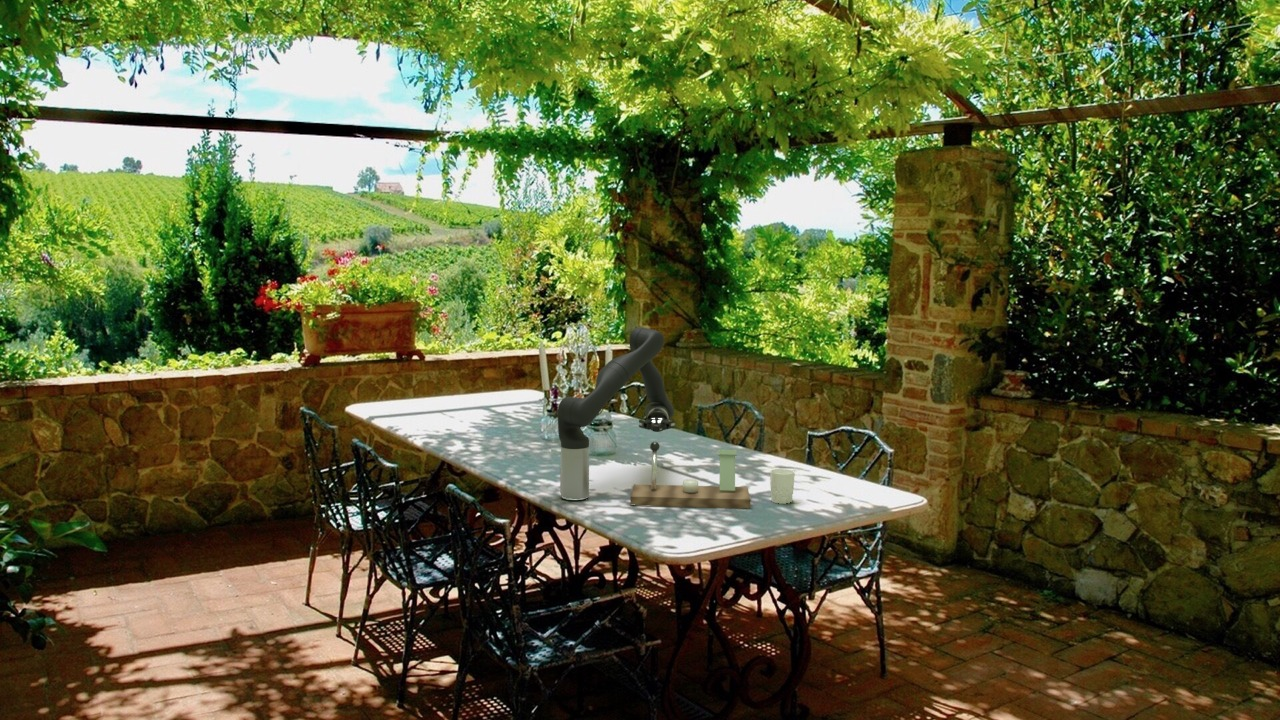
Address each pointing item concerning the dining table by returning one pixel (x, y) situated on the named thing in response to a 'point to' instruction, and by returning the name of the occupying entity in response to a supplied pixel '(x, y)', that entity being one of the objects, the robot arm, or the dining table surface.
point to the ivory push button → (690, 486)
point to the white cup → (782, 485)
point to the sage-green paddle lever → (727, 469)
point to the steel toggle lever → (654, 463)
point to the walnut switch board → (690, 497)
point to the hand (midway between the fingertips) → (655, 428)
